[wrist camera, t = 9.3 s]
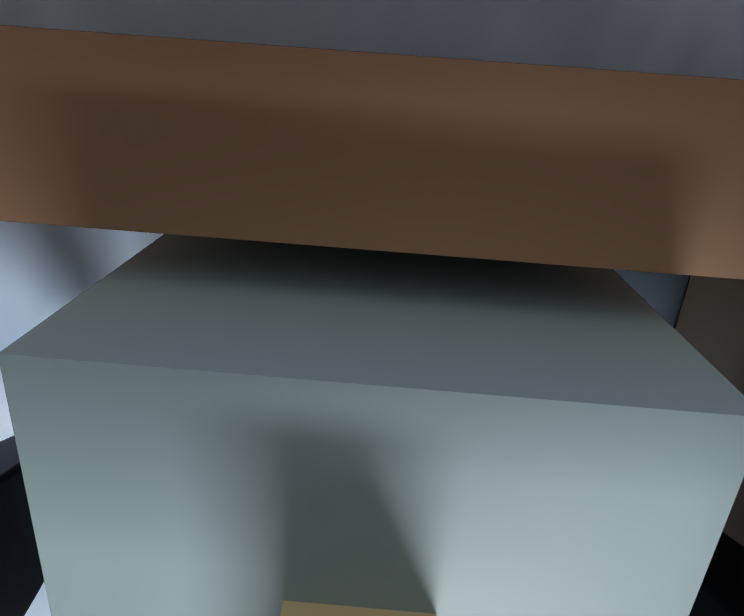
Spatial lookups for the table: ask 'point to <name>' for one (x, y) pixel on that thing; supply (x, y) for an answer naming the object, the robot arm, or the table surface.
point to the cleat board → (387, 159)
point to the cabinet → (368, 438)
